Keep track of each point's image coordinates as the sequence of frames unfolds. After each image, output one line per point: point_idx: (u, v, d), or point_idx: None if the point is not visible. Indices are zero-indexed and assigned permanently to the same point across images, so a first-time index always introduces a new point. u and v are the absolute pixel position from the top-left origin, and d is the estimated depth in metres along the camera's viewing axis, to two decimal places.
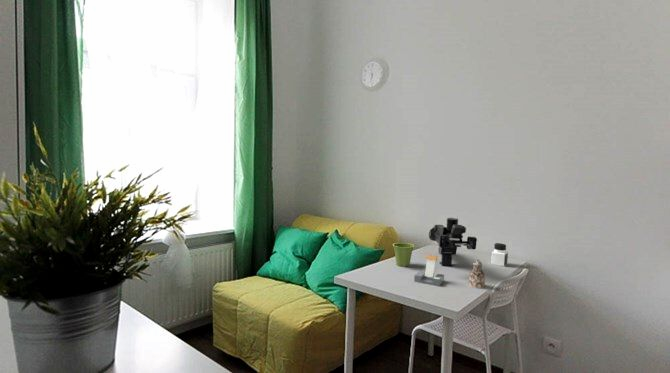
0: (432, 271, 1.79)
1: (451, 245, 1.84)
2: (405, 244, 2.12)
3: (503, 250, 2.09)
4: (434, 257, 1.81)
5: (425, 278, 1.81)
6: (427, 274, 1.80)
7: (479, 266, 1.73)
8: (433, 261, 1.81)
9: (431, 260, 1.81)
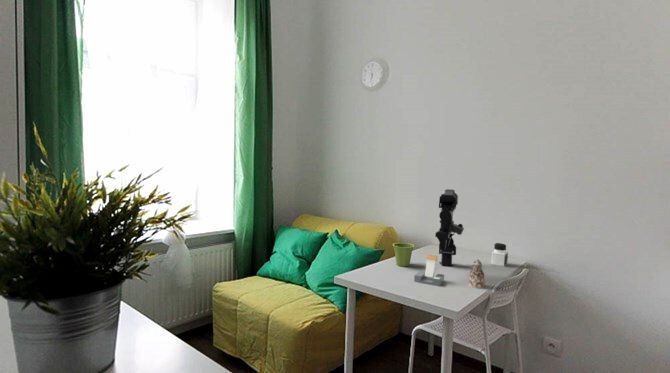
0: (432, 271, 1.79)
1: (443, 247, 1.89)
2: (405, 244, 2.12)
3: (503, 250, 2.09)
4: (434, 257, 1.81)
5: (425, 278, 1.81)
6: (427, 274, 1.80)
7: (479, 266, 1.73)
8: (433, 261, 1.81)
9: (431, 260, 1.81)
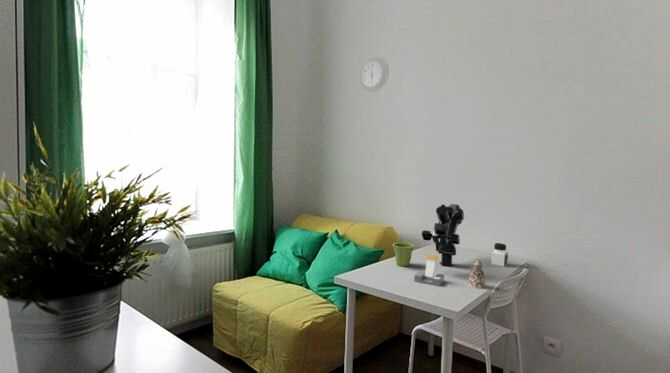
0: (432, 271, 1.79)
1: (436, 248, 1.91)
2: (405, 244, 2.12)
3: (503, 250, 2.09)
4: (434, 257, 1.81)
5: (425, 278, 1.81)
6: (427, 274, 1.80)
7: (479, 266, 1.73)
8: (433, 261, 1.81)
9: (431, 260, 1.81)
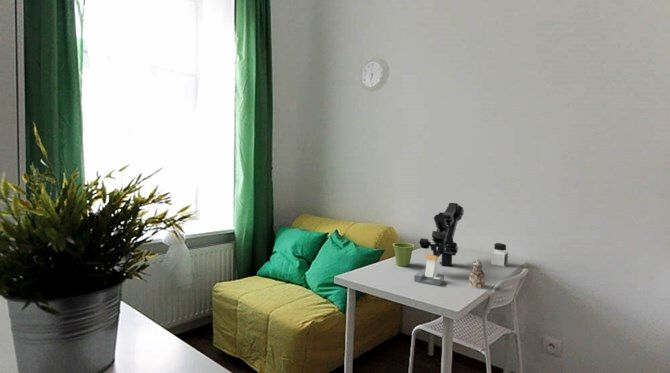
0: (432, 271, 1.79)
1: None
2: (405, 244, 2.12)
3: (503, 250, 2.09)
4: (434, 257, 1.81)
5: (425, 278, 1.81)
6: (427, 274, 1.80)
7: (479, 266, 1.73)
8: (433, 261, 1.81)
9: (431, 260, 1.81)
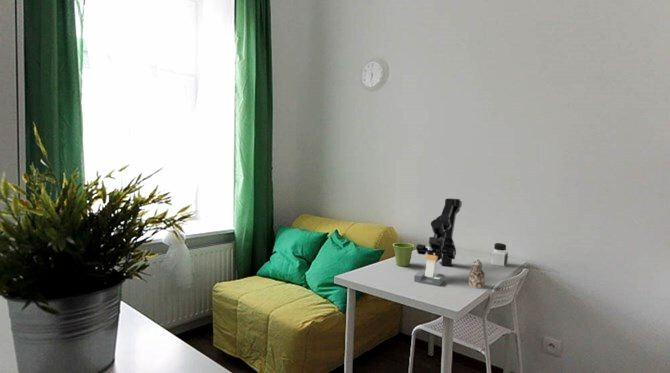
0: (432, 271, 1.79)
1: None
2: (405, 244, 2.12)
3: (503, 250, 2.09)
4: (434, 257, 1.80)
5: (425, 278, 1.81)
6: (427, 274, 1.80)
7: (479, 266, 1.73)
8: (433, 261, 1.81)
9: (431, 260, 1.81)
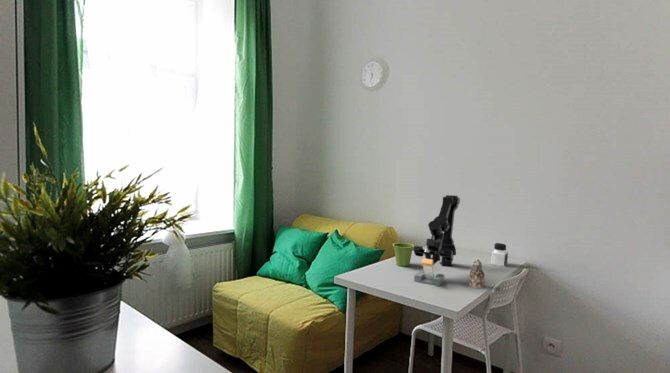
0: (431, 274, 1.78)
1: None
2: (405, 244, 2.12)
3: (503, 250, 2.09)
4: (429, 265, 1.74)
5: (425, 278, 1.81)
6: (427, 276, 1.80)
7: (479, 266, 1.73)
8: (429, 267, 1.76)
9: (427, 266, 1.76)
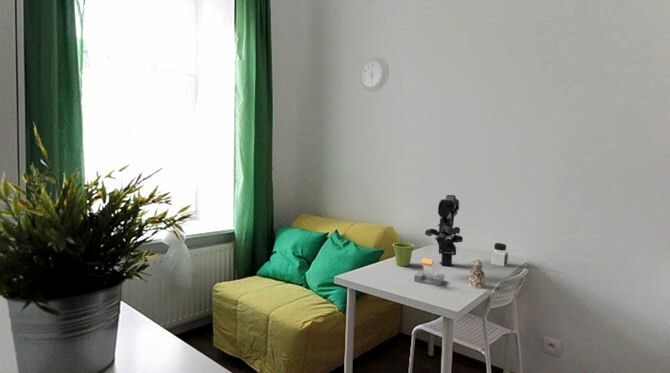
0: (431, 274, 1.78)
1: (441, 249, 1.90)
2: (405, 244, 2.12)
3: (503, 250, 2.09)
4: (429, 265, 1.74)
5: (425, 278, 1.81)
6: (427, 276, 1.80)
7: (479, 266, 1.73)
8: (429, 267, 1.76)
9: (427, 266, 1.76)
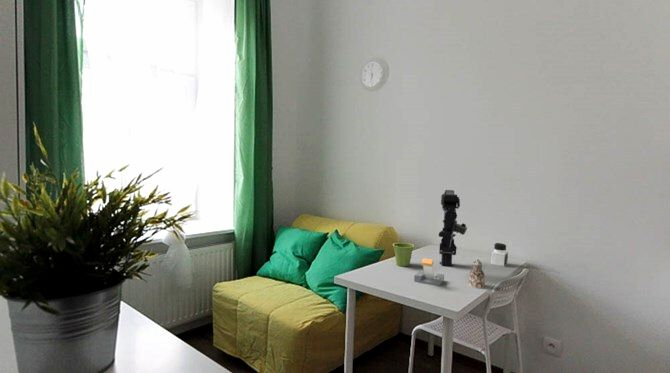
0: (431, 274, 1.78)
1: (447, 245, 1.93)
2: (405, 244, 2.12)
3: (503, 250, 2.09)
4: (429, 265, 1.74)
5: (425, 278, 1.81)
6: (427, 276, 1.80)
7: (479, 266, 1.73)
8: (429, 267, 1.76)
9: (427, 266, 1.76)
